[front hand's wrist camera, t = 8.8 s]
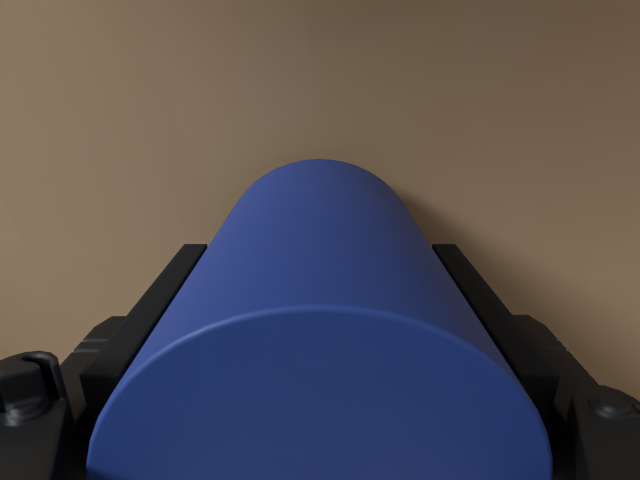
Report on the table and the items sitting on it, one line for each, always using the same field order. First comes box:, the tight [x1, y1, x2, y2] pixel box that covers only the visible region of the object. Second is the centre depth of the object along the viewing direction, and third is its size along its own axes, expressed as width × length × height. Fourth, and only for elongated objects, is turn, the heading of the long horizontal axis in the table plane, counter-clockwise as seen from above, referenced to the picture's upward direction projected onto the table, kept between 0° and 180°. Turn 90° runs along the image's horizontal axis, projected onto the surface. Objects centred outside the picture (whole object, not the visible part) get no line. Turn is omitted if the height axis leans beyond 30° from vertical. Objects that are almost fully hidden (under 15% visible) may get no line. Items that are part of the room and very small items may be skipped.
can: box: [86, 159, 553, 480], centre depth 12 cm, size 8×8×10 cm
